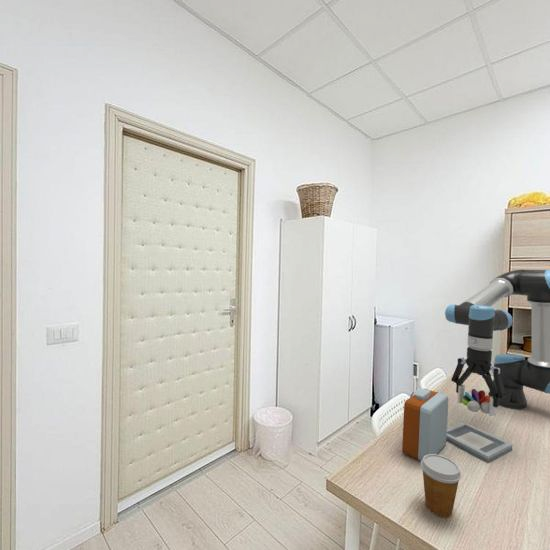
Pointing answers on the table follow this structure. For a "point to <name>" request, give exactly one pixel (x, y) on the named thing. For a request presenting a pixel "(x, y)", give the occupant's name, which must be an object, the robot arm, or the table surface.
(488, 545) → the table surface
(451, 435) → the square gray tray
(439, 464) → the disposable coffee cup
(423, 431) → the rectangular block
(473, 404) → the rainbow disc rolling toy
